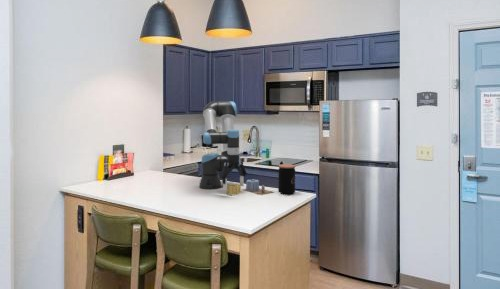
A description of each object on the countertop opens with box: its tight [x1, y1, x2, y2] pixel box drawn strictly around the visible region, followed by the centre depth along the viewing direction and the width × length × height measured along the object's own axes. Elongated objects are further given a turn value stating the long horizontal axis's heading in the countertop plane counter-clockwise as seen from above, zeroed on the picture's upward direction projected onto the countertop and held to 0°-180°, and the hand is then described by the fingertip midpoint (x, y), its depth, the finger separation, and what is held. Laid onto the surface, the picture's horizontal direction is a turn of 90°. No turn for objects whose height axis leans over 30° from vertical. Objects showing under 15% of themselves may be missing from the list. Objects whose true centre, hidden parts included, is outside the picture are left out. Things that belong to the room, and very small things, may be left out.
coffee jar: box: [278, 163, 296, 196], centre depth 235 cm, size 11×11×18 cm
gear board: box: [241, 184, 275, 196], centre depth 237 cm, size 20×12×6 cm, turn 42°
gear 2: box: [245, 178, 260, 191], centre depth 241 cm, size 9×8×6 cm
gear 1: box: [226, 183, 242, 197], centre depth 232 cm, size 9×8×6 cm
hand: (233, 187), depth 231 cm, fingers open, 13 cm apart
